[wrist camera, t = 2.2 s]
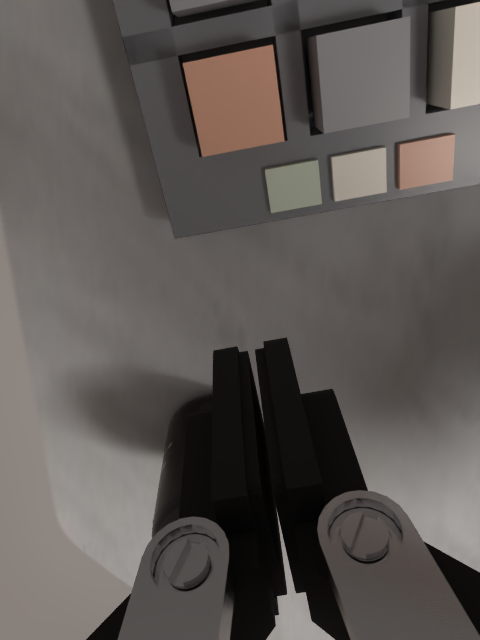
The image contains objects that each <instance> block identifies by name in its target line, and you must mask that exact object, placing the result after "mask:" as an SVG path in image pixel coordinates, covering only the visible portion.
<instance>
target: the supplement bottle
mask: <svg viewBox="0 0 480 640" xmlns="http://www.w3.org/2000/svg"><path fill="white" fill-rule="evenodd" d="M212 401H213V395H212V396H205V397H201V398H197V399H195V400H192V401H190V402H188V403H187V404H185V405H184V406H183V407H181V408H180V409H179V410H178V411H177V412H176V413H175V415H174V416H173V418H172V420H171V422H170V424H169V428H168V433H167V438H166V444H165V450H164V457H163V463H162V469H161V476H160V482H159V488H158V494H157V501H156V507H155V513H154V520H153V528H152V538H153V537H154V536H155V535H156V533H157V532H159V531H160V530H161V529H163V528H164V527H165V526H166V525H168V524H170V523H172V522H174V521H176V520H179V510H180V498H181V486H182V474H183V462H184V450H185V438H186V426H187V418H188V415H189V413H195V412H201V411H207V410H212ZM263 423H264V422H263ZM264 427H265V426H264Z"/></svg>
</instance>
